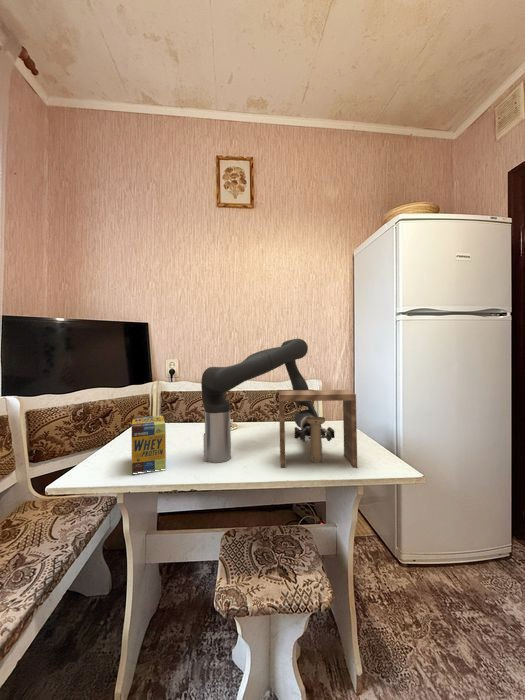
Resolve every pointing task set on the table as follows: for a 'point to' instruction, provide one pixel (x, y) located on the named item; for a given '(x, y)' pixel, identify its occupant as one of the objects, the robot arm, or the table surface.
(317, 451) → the handle
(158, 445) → the protein box
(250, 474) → the table surface
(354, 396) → the shelf
